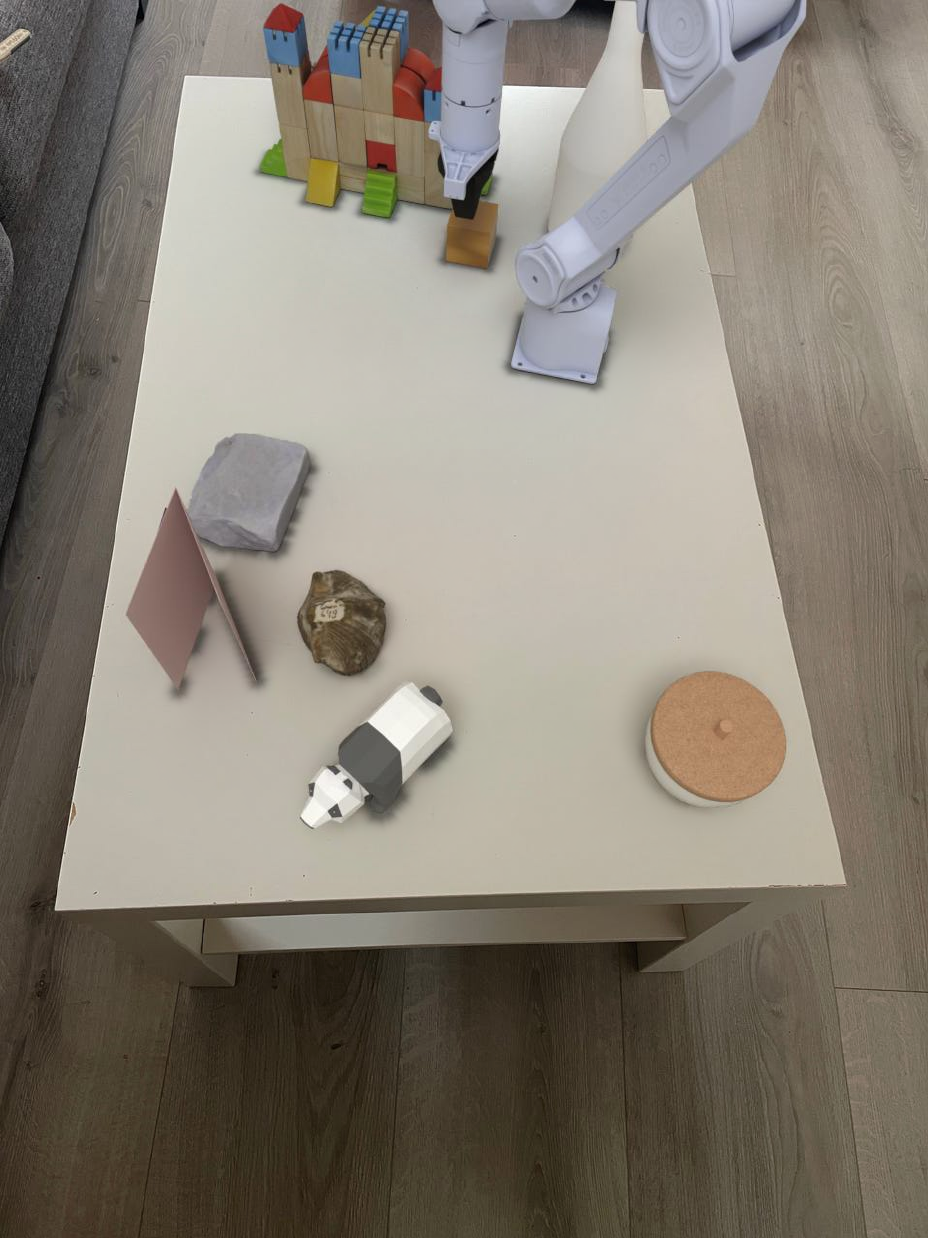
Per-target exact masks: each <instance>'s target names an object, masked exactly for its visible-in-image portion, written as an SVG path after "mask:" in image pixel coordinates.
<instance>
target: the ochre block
mask: <svg viewBox="0 0 928 1238" xmlns="http://www.w3.org/2000/svg"><path fill="white" fill-rule="evenodd" d="M499 206H500V205H499V203H494V202H489V201H485V200H484V201H483V200H480V201H479V204H478V207H477V211H476V214H475V217H474V219H473V220H470V219H465V218H459V217H455V214H454V211H453V209H451V212H450V215H449V218H448V221H447V224H446V243H445V244H446V250H445V261H446V262H448V263H454V264H458V265H459V264H460V265H465V266H470V267H476V268H480V269H481V268H482V269H488V267H489V264H490V260H491V257H492V254H493V250H494V247H495V244H496V240H497V239H496V238H497V229H498V228H497V227H498V219H499V217H498V216H499V208H500V207H499Z"/></svg>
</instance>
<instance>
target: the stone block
mask: <svg viewBox="0 0 928 1238" xmlns="http://www.w3.org/2000/svg"><path fill="white" fill-rule="evenodd" d="M310 467H311V456H310V452H309V450H308V448H307V447H306V446H305V445H303V444H302V443H299V442H296V441H290V440H287V439H286V440H285V439H280V438H275V437H271V436H266V435H262V434H257V433H247V432H243V433H242V432H237V433H236V432H235V433H234V434H232V435H231V436H230V437H229V436H226V437H224V438H222V439H221V440H220V441H218V442H217V443H216V444H215V446H214V450H213V453H212V455H210V456H209V457H208V458H207V460H206V461H205V463H204V464H203V467H202V468H201V470H200V473H199V475H198V479H197V480H196V482H195V483H194V485H193V488H192V491H191V497H190V499H189V504H188V507H187V510H186V511H187V513H188V515H189V517H190V520H191V522H192V524H193V526H194V529H195V531H196V533H197V535H198V537H200V538H202V539H204V540H208V542H211V543H213V544H215V545H217V546H219V547H223V548H241V549H248V550H253V551H255V550H256V551H266V552H272V553H273V552H276V551H278V550H279V548H280V547H281V545H282V542H283V540H284V537H285V534H286V531H287V529H288V526H289V524H290V521H291V518H292V516H293V513H294V510H295V507H296V505H297V503H298V500H299V497H300V494H301V492H302V488H303V487H304V483H305V481H306V479H307V476H308V473H309V471H310Z"/></svg>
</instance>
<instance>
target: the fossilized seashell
mask: <svg viewBox="0 0 928 1238" xmlns="http://www.w3.org/2000/svg"><path fill="white" fill-rule="evenodd" d="M310 581H311V582H310V587H309V589H308V593H307V595H306V597H305V599H304V601H303V603H302V605H301V607H300V608H299V610H298V612H297V616H296V618H297V627H298V630H299V632H300V637H301V638H302V641H303V643H304V644H305V647H307V649H308V650H309V651H310V653H312V659H313V662H314V663H315V664H321V665H324V666H325V667H327V668H329V669H331V670H332V672H334V673H336V674H338V675H341V676H343V677H353V676H355V675H357V674H360V673H363V672H364V671H366V670H367V669H368V668H369V667H370V666H371V665H372V664H373V663H374V662H375V660H376V658H377V657H378V655H379V653H380V650H381V648H382V646H383V645H384V644H383V643H384V638H385V637H384V636H385V633H386V629H387V627H386V626H387V618H386V613H385V606H386V602H385V600H384V599H382V598H381V597H379V596H377V595H376V594H375V593H374V592H373V591H372V590H371V589H370V588H369V587H368V585H366V584H365V583H364V582H363V581H362V580H360V579H358V578H356V577H355V576H352V575H351V574H350V573H348V572H346V571H343V570H339V569H333V570H328V571H324V572H321V571H315V572H313V573H312V575H311V580H310Z"/></svg>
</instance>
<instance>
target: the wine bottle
mask: <svg viewBox="0 0 928 1238" xmlns="http://www.w3.org/2000/svg"><path fill="white" fill-rule="evenodd" d="M645 34H646V33H644V34H642V33H640V32H639V30H638V27H637V16H636V2H635V1H615V3H614V8H613V13H612V17H611V21H610V27H609V32H608V36H607V37H608V38H607V42H606V45H605V48H604V51H603V53H602V55H601V58H600V60H599V61H598V64H597V66H596V67H595V69H594V72H593V73H592V75H591V77H590V78H589V81H588V83H587V84H586V87H585V88H584V91H583V93H582V95H581V97H580V98H579V100H578V102H577V104H576V106H575V108H574V109H573V111H572V113H571V115H570V117H569V119H568V121H567V123H566V125H565V128H564V130H563V131H562V135H561V137H560V143H559V149H558V156H557V163H556V168H555V169H556V170H555V176H554V181H553V189H552V195H551V201H550V202H551V203H550V208H549V214H548V215H549V216H548V223H547V229H548V233H549V232H550V231H552V230H553V229H555V228H556V227H558V226H560V225H561V224H563V223H564V222H566V221H567V220H569V219H570V218H571V217H572V216H574V215H575V214H576V213H577V212H578V211H579V210H580V209H581V208H582V207H583V206H584V205H585V204H586V202H587V201H588V200H589V199H590V198H591V197H592V196H593V195H594V194H595V193H596V192H597V191H598V190H599V189H600V188H601V187H602V186H603V185H604V184H605V183H606V182H607V181H608V180H609V179H610V178H611V177H612V176H613V175H614V174H615V173H616V172H617V171H618V170H619V169H620V168H621V167H622V166H623V165H624V164H625V163H626V162H627V161H628V160H629V159H630V158H631V157H632V156H633V155H634V154H635V153H636V152H637V151H638V150H639V149H640V148H641V147H642V146H643V144H644V143H645V142H646V141H647V140H648V126H647V116H646V105H645V96H644V83H643V72H642V71H643V70H642V50H643V49H642V48H643V43H644V38H645Z"/></svg>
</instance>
